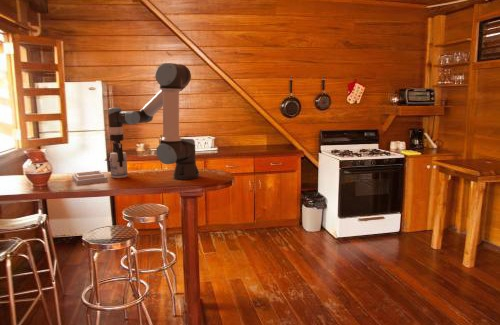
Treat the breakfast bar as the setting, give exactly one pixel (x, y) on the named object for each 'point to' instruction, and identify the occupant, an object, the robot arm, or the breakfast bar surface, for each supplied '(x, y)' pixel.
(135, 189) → the breakfast bar surface
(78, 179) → the base plate
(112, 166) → the supplement tub
